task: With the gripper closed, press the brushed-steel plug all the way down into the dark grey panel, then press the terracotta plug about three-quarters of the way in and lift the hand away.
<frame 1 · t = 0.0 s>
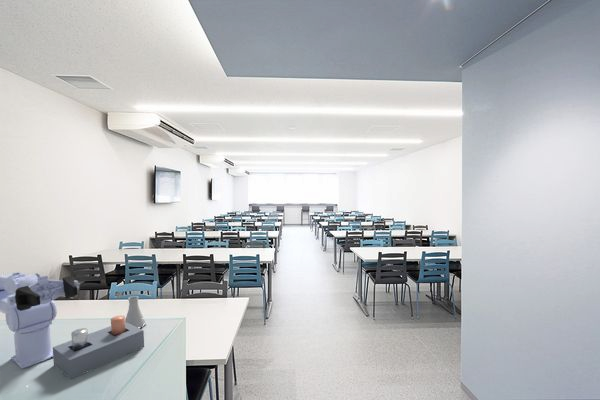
hand: (57, 295, 79), 22 cm above the table, tool horizontal, fingers open, 7 cm apart
steel plug: (80, 339, 88), point 7 cm above the table, slide at 0.0 cm
flask: (134, 327, 111), on the table
terracotta plug: (118, 325, 96), point 7 cm above the table, slide at 0.0 cm
plug panel: (101, 355, 93), on the table
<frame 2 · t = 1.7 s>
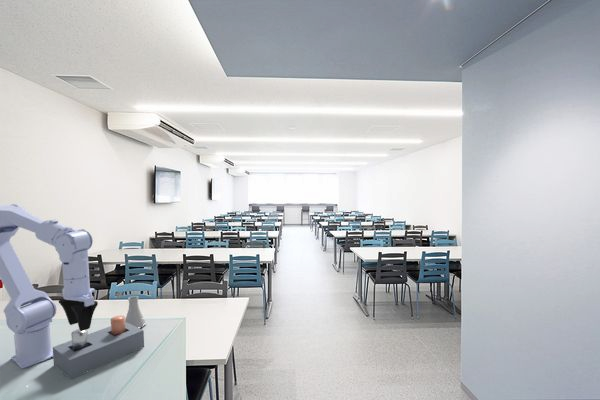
hand: (79, 326, 88), 10 cm above the table, tool pointing down, fingers open, 6 cm apart
nothing on the table moved.
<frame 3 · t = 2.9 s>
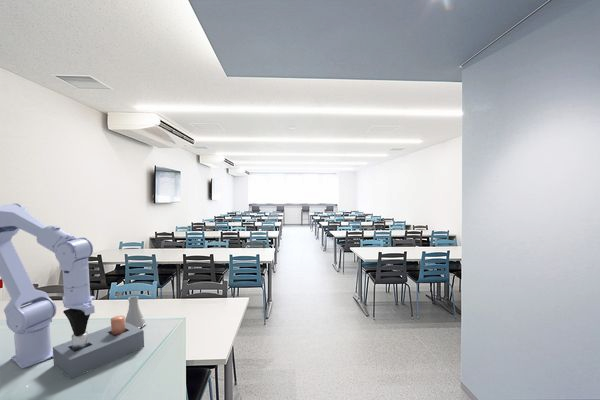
hand: (79, 334, 88), 8 cm above the table, tool pointing down, fingers closed, pressing on steel plug
steel plug: (80, 342, 88), point 6 cm above the table, slide at 0.8 cm, touching gripper
everything else where it was.
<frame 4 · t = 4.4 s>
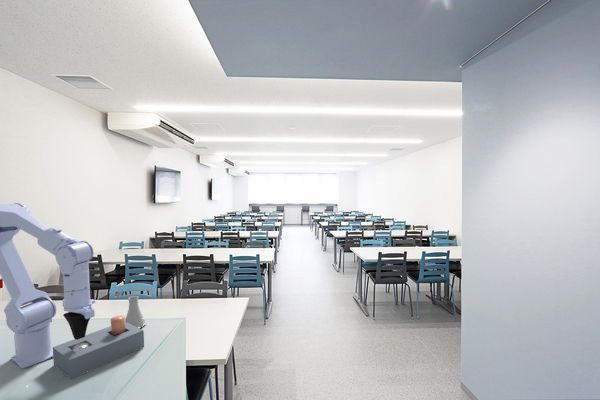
hand: (79, 337, 88), 7 cm above the table, tool pointing down, fingers closed
steel plug: (80, 354, 89), point 3 cm above the table, slide at 4.2 cm
everything else where it was.
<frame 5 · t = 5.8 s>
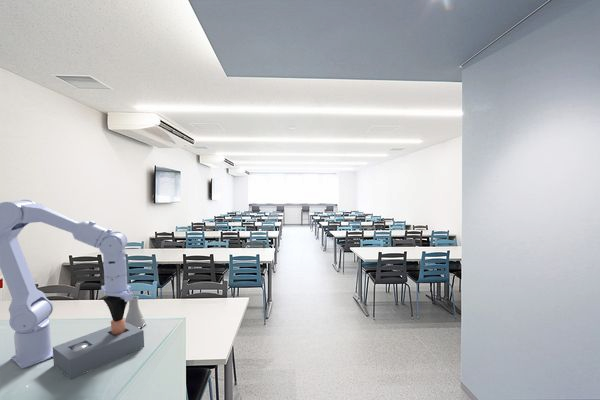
hand: (118, 320, 96), 8 cm above the table, tool pointing down, fingers closed, pressing on terracotta plug
terracotta plug: (118, 327, 96), point 6 cm above the table, slide at 0.6 cm, touching gripper
everything else where it was.
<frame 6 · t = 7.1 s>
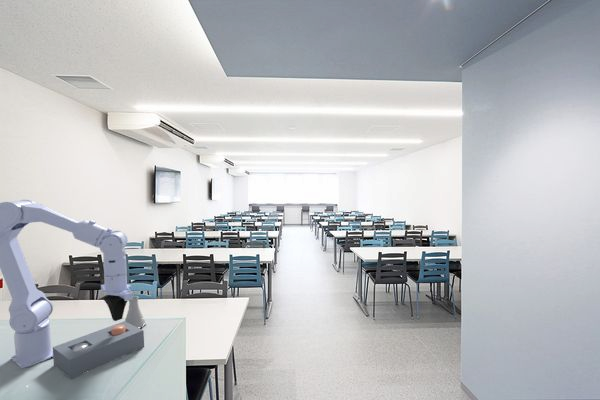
hand: (117, 319, 96), 9 cm above the table, tool pointing down, fingers closed
terracotta plug: (118, 335, 97), point 4 cm above the table, slide at 2.9 cm
everything else where it was.
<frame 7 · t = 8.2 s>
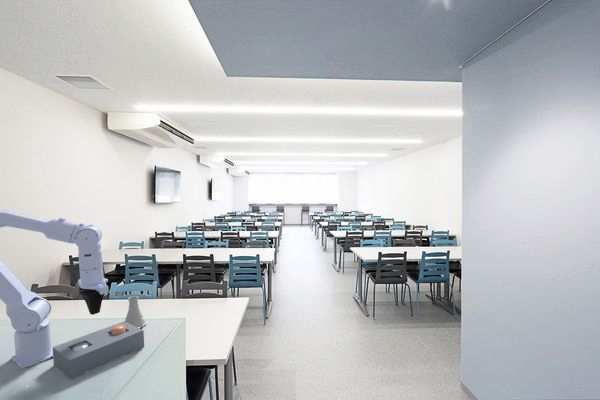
hand: (94, 313, 97), 10 cm above the table, tool pointing down, fingers closed
nothing on the table moved.
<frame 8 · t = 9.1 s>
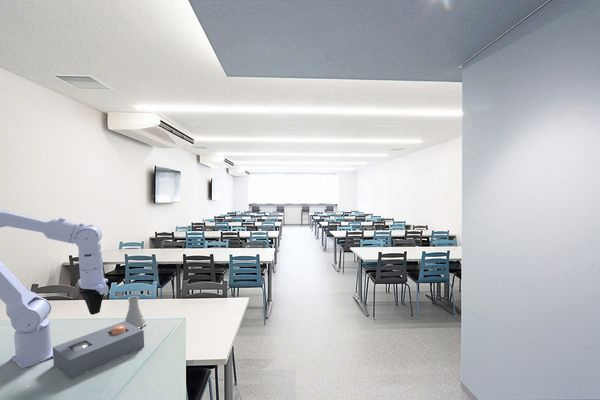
hand: (94, 313, 97), 10 cm above the table, tool pointing down, fingers closed
nothing on the table moved.
at the end: steel plug slide at 4.2 cm; terracotta plug slide at 2.9 cm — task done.
